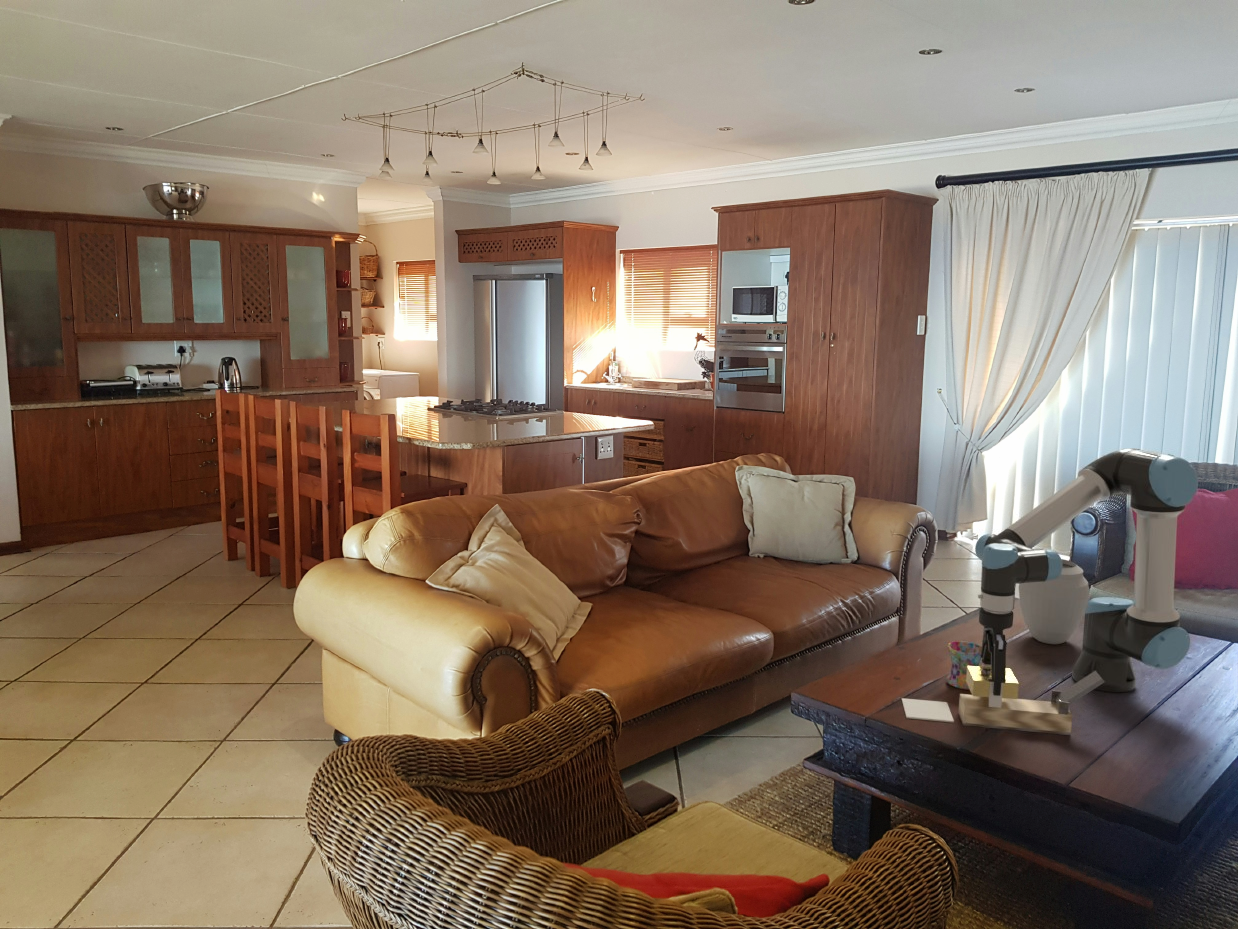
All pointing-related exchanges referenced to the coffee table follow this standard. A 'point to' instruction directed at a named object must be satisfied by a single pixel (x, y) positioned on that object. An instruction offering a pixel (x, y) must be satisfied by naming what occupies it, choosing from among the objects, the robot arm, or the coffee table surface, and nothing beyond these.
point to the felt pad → (927, 710)
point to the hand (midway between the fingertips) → (990, 698)
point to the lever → (1080, 688)
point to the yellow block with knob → (981, 685)
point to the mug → (962, 661)
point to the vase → (1055, 604)
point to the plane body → (1017, 714)
